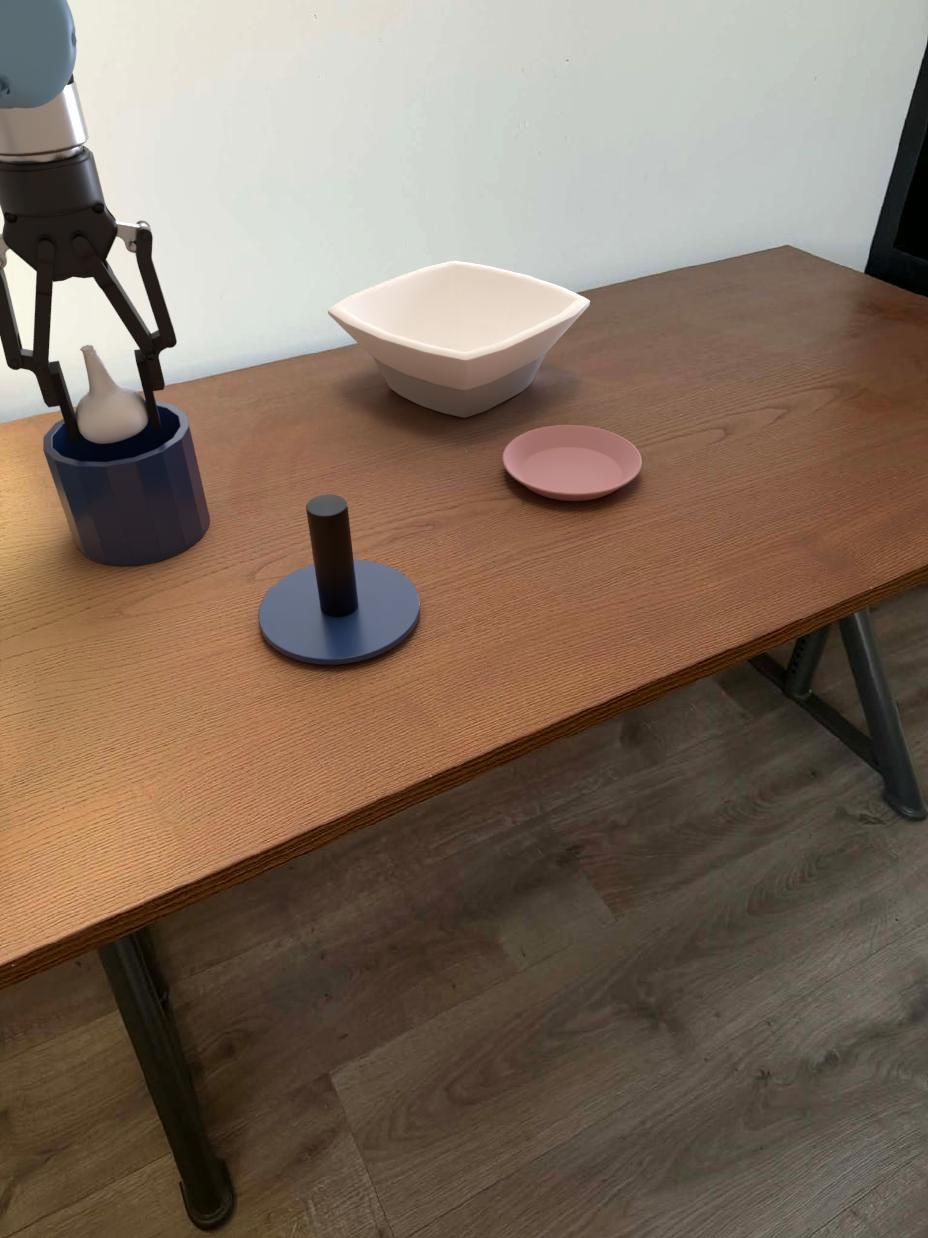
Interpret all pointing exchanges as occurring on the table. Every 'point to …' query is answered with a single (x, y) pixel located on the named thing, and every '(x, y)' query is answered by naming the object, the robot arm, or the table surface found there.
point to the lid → (337, 598)
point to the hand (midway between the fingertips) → (116, 429)
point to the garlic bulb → (108, 405)
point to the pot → (131, 491)
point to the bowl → (459, 332)
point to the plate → (572, 462)
